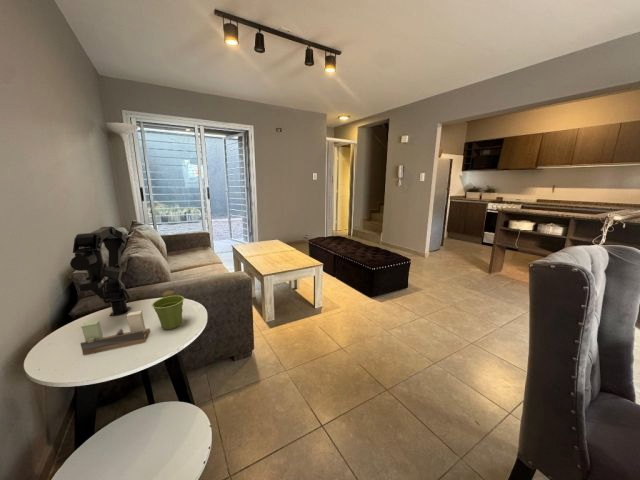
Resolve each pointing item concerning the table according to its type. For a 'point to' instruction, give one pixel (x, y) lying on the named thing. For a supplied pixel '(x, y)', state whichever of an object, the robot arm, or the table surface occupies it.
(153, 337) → the table surface
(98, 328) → the pale green tall block
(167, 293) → the cork
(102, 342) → the brown wooden rack
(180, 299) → the plant pot
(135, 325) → the beige rectangular block
